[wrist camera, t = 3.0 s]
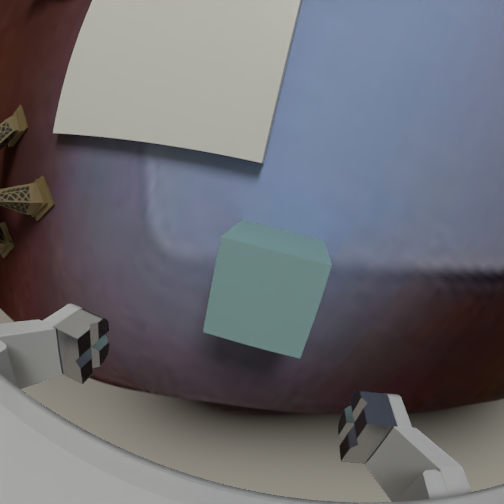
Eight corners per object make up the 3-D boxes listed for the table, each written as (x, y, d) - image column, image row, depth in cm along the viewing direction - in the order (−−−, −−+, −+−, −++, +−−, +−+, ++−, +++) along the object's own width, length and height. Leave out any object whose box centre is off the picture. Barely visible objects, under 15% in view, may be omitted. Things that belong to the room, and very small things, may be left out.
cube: (324, 240, 18) (331, 265, 13) (301, 314, 19) (300, 358, 14) (242, 219, 18) (220, 236, 13) (226, 294, 20) (203, 331, 15)
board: (303, -7, 14) (303, -13, 13) (263, 163, 17) (261, 163, 16) (100, -2, 15) (94, -6, 14) (59, 133, 19) (52, 133, 18)
